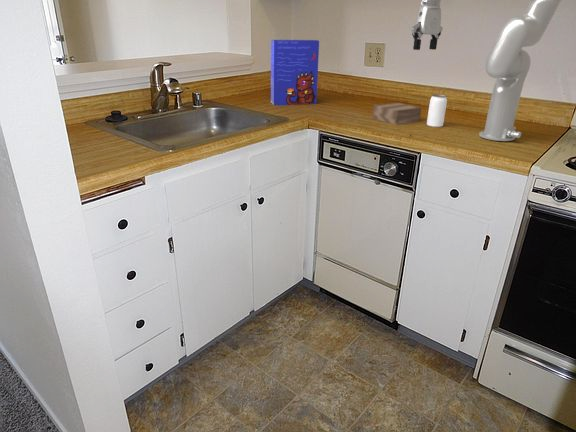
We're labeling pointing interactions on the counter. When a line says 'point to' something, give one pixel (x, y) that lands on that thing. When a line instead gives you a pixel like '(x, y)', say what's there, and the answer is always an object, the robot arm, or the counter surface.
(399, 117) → the walnut block
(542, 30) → the robot arm
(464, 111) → the counter surface
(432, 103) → the can
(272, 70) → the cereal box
